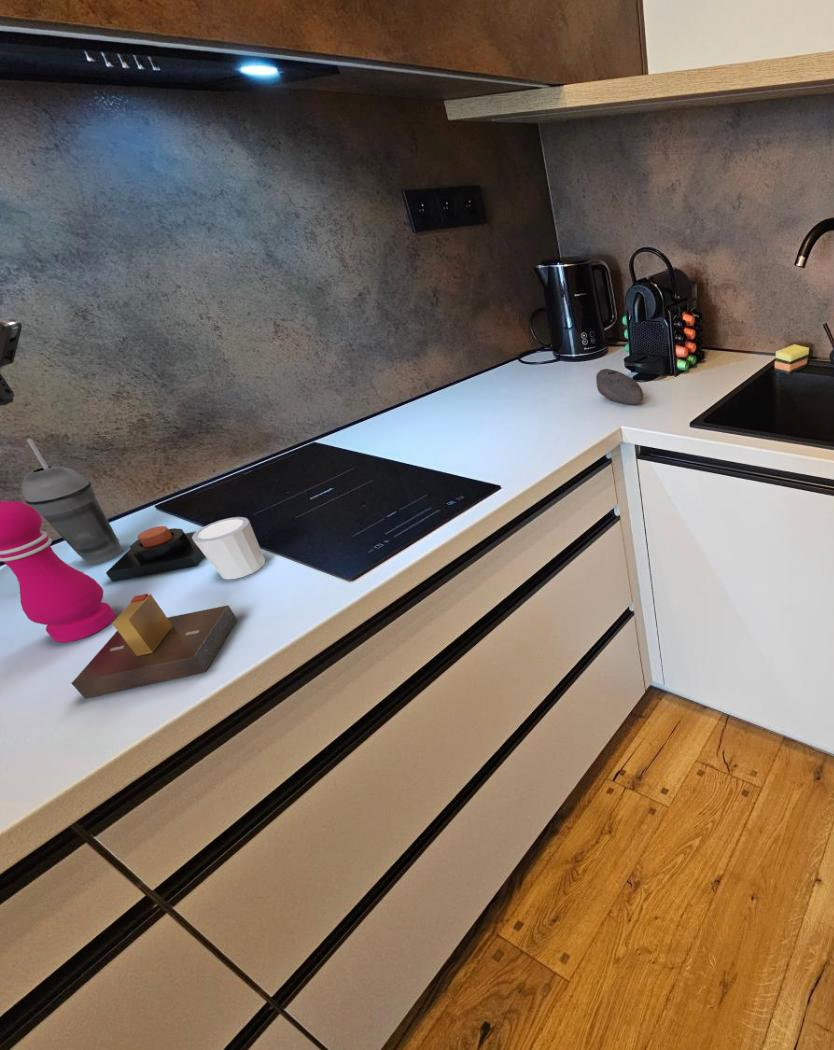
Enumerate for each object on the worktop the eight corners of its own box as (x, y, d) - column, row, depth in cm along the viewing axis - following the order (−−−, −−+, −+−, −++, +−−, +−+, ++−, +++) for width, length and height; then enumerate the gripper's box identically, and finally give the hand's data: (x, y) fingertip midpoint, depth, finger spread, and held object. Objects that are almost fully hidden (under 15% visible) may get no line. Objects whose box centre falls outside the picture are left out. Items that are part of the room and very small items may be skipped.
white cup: (215, 588, 83) (190, 547, 79) (215, 567, 88) (191, 527, 84) (271, 569, 86) (249, 529, 83) (268, 550, 91) (247, 511, 88)
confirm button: (138, 550, 88) (132, 540, 87) (150, 538, 91) (144, 528, 90) (166, 545, 88) (160, 535, 88) (177, 533, 91) (171, 524, 91)
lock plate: (84, 699, 66) (69, 682, 64) (131, 641, 74) (119, 625, 73) (205, 672, 68) (193, 655, 67) (237, 619, 76) (228, 603, 75)
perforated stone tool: (651, 405, 137) (648, 376, 134) (634, 411, 134) (630, 382, 131) (613, 393, 147) (609, 365, 143) (596, 398, 144) (592, 370, 140)
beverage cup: (104, 544, 96) (24, 430, 86) (145, 542, 96) (69, 428, 86) (61, 570, 90) (-31, 451, 80) (105, 568, 90) (18, 448, 79)
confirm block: (112, 582, 86) (97, 562, 84) (143, 550, 94) (130, 532, 92) (196, 566, 89) (184, 547, 87) (220, 536, 96) (210, 518, 94)
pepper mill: (51, 626, 78) (-59, 494, 67) (121, 602, 82) (27, 473, 71) (45, 654, 73) (-75, 516, 63) (119, 627, 77) (18, 492, 66)
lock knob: (152, 652, 68) (127, 618, 65) (136, 656, 67) (110, 621, 65) (173, 626, 72) (149, 592, 69) (158, 629, 72) (134, 595, 69)
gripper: (-218, 262, 60) (-89, 422, 69) (-59, 249, 62) (45, 405, 71) (-150, 255, 66) (-40, 403, 75) (-8, 244, 69) (82, 387, 78)
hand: (2, 404), depth 73 cm, fingers closed
